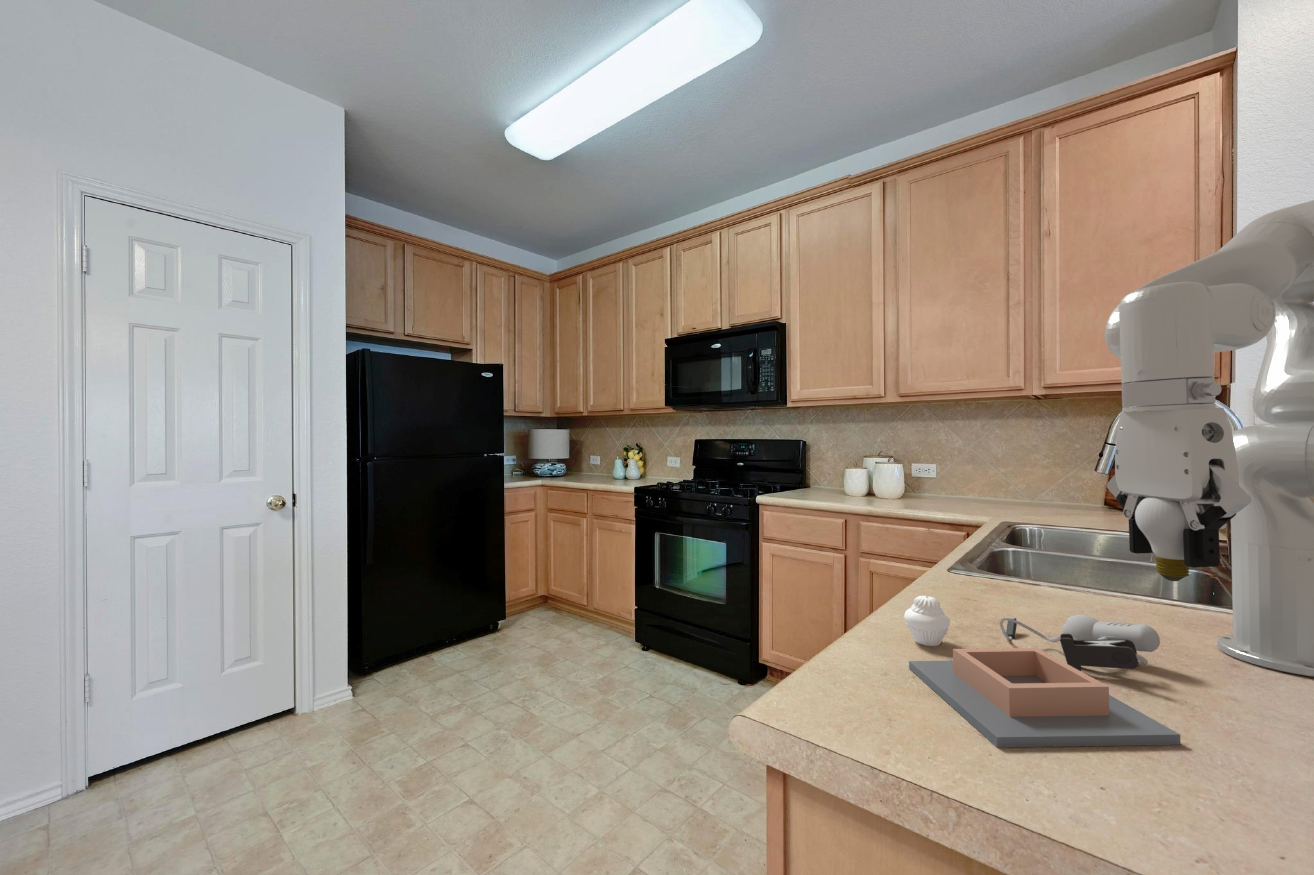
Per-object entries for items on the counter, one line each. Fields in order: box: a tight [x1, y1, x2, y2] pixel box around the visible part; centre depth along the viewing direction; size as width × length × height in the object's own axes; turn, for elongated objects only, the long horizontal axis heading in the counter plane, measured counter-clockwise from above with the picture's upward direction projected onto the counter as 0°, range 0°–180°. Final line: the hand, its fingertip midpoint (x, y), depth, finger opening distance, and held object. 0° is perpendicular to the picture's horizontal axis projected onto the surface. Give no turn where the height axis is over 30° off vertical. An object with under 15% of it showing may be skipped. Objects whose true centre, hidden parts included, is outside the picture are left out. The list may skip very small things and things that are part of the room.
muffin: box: [903, 594, 951, 647], centre depth 79 cm, size 6×6×7 cm
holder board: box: [908, 647, 1181, 748], centre depth 61 cm, size 18×18×4 cm
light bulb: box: [1135, 497, 1205, 582], centre depth 59 cm, size 6×6×10 cm
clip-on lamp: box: [999, 614, 1161, 672], centre depth 74 cm, size 12×6×18 cm
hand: (1172, 557), depth 59 cm, fingers closed on light bulb, 5 cm apart
